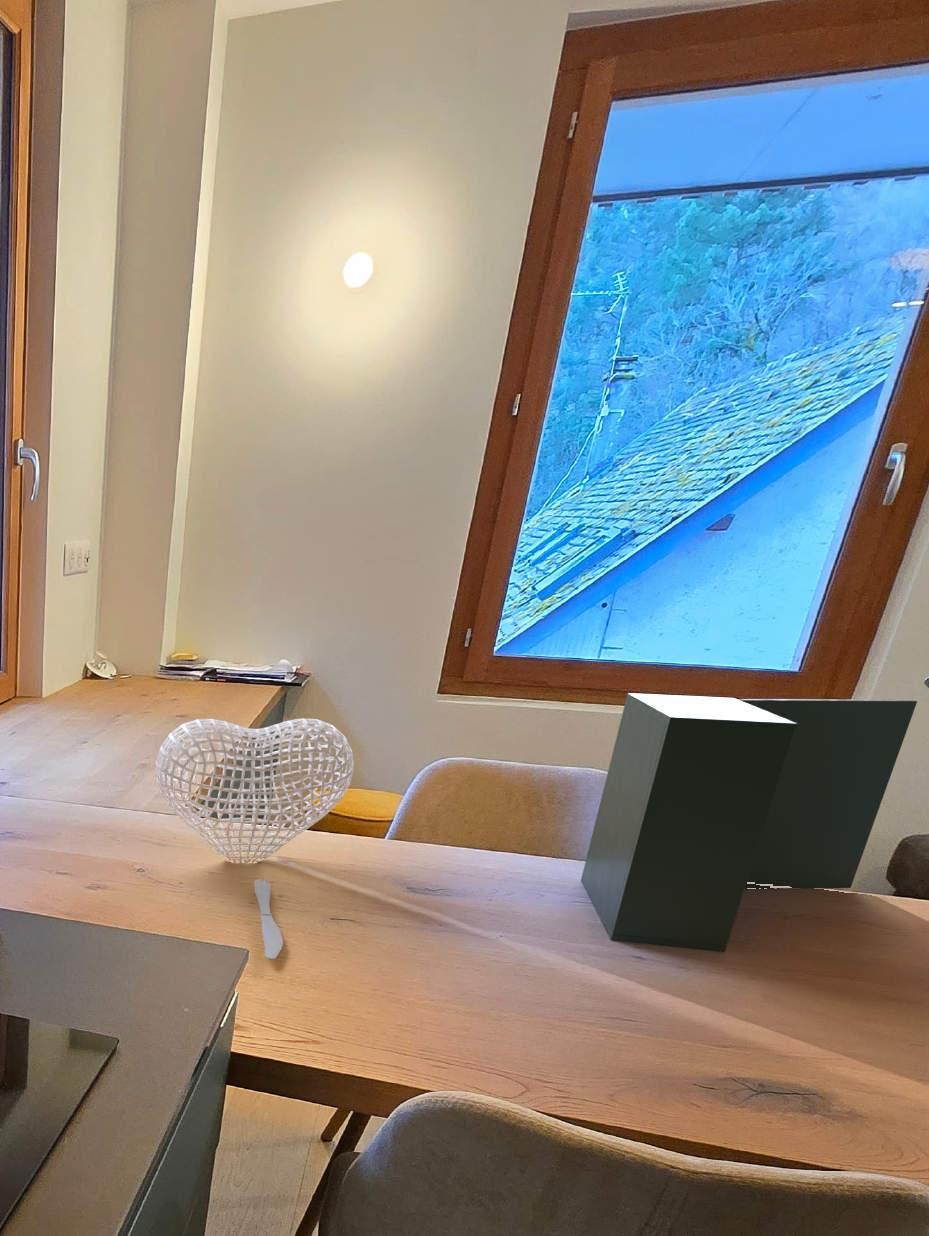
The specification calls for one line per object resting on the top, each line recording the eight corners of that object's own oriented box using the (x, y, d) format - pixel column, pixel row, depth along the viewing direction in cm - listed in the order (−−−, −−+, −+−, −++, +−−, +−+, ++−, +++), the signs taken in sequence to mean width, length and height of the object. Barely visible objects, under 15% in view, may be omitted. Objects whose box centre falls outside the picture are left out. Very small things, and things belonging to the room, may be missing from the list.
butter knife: (275, 879, 144) (253, 877, 144) (286, 960, 120) (260, 956, 120) (274, 883, 144) (253, 881, 144) (285, 964, 120) (259, 961, 121)
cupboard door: (654, 886, 147) (708, 693, 136) (808, 887, 147) (874, 694, 137) (684, 901, 141) (743, 699, 130) (845, 902, 141) (917, 701, 130)
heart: (324, 851, 161) (344, 708, 151) (350, 886, 147) (373, 731, 137) (145, 850, 163) (154, 709, 154) (154, 884, 149) (164, 731, 140)
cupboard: (675, 900, 142) (734, 697, 131) (723, 956, 122) (797, 723, 112) (578, 890, 145) (627, 693, 135) (609, 943, 126) (670, 717, 115)
